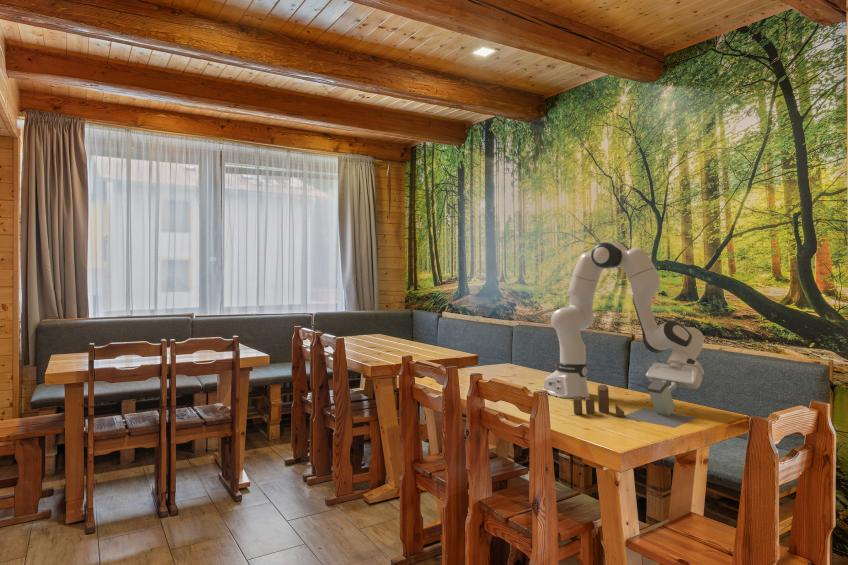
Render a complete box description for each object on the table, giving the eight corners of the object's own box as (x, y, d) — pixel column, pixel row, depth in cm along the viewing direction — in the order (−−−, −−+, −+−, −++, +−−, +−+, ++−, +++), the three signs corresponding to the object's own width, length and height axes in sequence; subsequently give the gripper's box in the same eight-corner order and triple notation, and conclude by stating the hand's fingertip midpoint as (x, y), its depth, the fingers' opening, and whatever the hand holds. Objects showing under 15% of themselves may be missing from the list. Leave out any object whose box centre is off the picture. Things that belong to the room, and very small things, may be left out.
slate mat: (619, 418, 204) (619, 416, 204) (644, 409, 217) (644, 408, 217) (674, 429, 189) (674, 427, 189) (697, 419, 203) (697, 417, 203)
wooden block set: (574, 420, 208) (573, 397, 205) (573, 408, 216) (572, 385, 213) (625, 420, 204) (624, 396, 200) (622, 407, 212) (621, 384, 208)
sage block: (656, 413, 209) (647, 388, 205) (663, 405, 211) (654, 380, 207) (669, 416, 204) (659, 390, 201) (675, 407, 207) (666, 382, 203)
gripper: (651, 355, 220) (637, 382, 215) (702, 362, 203) (687, 391, 198) (658, 365, 223) (643, 392, 217) (708, 373, 206) (694, 402, 201)
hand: (665, 392), depth 207 cm, fingers closed
